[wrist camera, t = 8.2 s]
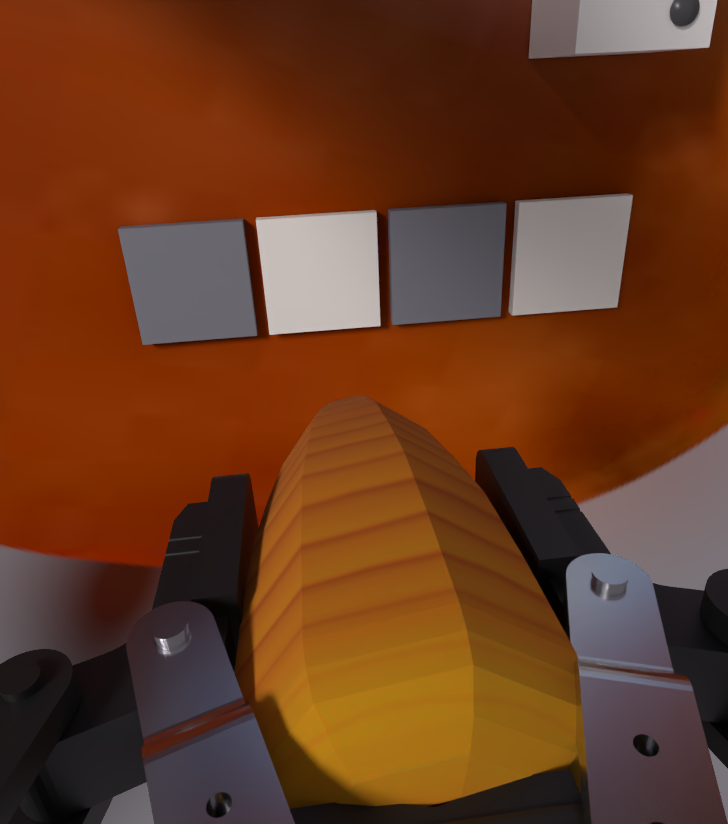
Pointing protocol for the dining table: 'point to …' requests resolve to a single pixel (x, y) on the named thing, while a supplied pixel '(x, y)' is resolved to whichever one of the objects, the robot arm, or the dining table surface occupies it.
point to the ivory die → (618, 26)
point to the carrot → (397, 626)
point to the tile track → (375, 267)
